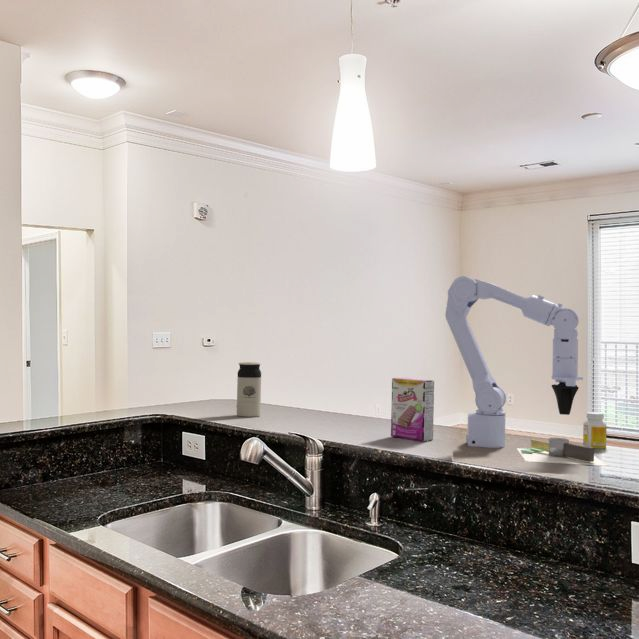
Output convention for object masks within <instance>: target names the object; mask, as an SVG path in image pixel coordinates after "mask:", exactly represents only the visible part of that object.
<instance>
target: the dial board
mask: <svg viewBox="0 0 639 639" xmlns="http://www.w3.org/2000/svg"><path fill="white" fill-rule="evenodd" d="M515 449H516V451H518V453H519V454H520V456H521V457H522V459H523V460H524V461H525V462H526V463H528V462H529V463H549V464H564V465H565V464H567V465H582V466H583V465H587V466H589V465H590V466H604V467H605V466H606V467H607V466H609V465H608V464H607V463H606V462H604V461H602V460H601V459H599V458H598V457H597V456H595V455H594V462H587V461H583V460H578V459H573V458H569V457H564V456H553V455H549V451H544V450H540V449H535V448H531V447H530V448H520V447H518V448H515Z"/></svg>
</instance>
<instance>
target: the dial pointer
mask: <svg viewBox="0 0 639 639" xmlns="http://www.w3.org/2000/svg"><path fill="white" fill-rule="evenodd" d="M531 448H535V449H540V450H544V451H549V455H553V456H564V457H569V458H573V459H578V460H583V461H587V462H594V456H595V449H594V448H593V447H587V446H583V444H577V443H572V442H570V439H569V438H565V437H548V442H547V441H543V440H538V439H533V438H531V439H530V449H531Z"/></svg>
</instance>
